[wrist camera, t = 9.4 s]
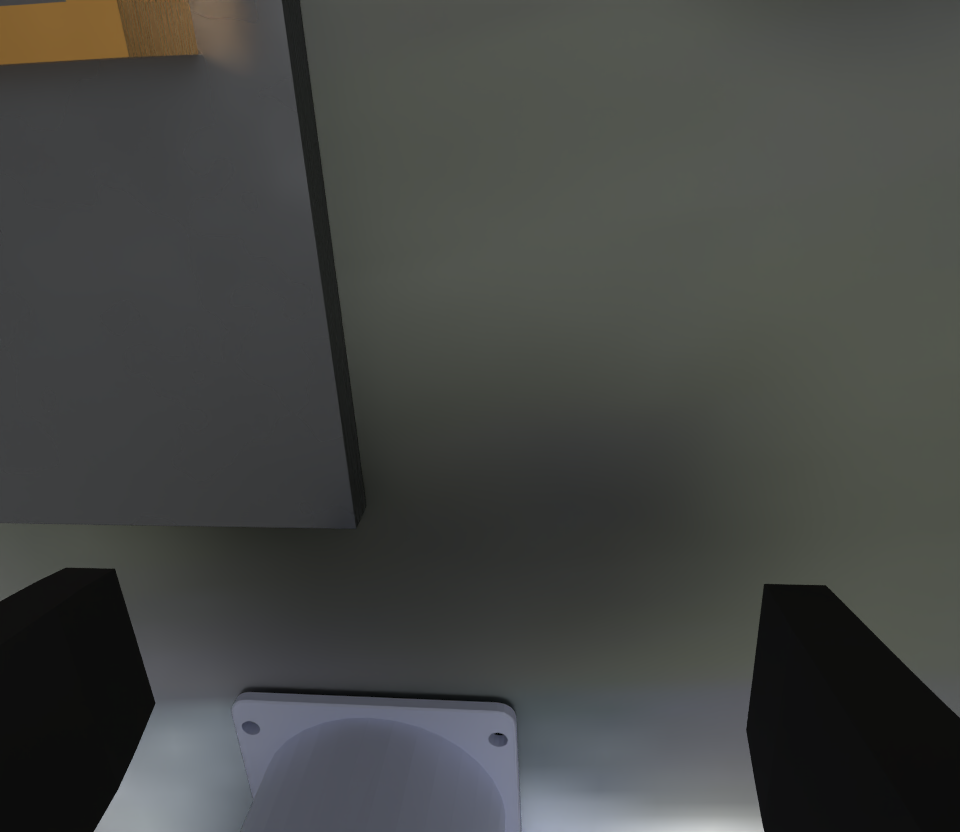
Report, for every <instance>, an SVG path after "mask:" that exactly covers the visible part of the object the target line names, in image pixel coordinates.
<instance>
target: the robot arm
mask: <svg viewBox="0 0 960 832" xmlns="http://www.w3.org/2000/svg"><path fill="white" fill-rule="evenodd" d="M154 706H155V700H154V697H153V694H152V690H151V687H150V684H149V680H148V677H147V674H146V670H145V667H144V664H143V660H142V657H141V654H140V651H139V647H138V644H137V641H136V637H135V634H134V631H133V627H132V624H131V621H130V617H129V614H128V611H127V607H126V604H125V601H124V597H123V594H122V591H121V588H120V584H119V581H118V578H117V574H116V571H115V569H97V568H64V569H62V570H60V571H58V572H56V573H54V574H52V575H50V576H47V577H45V578H43V579H41V580H39V581H37V582H35V583H33V584H32V585H30V586H28V587H26V588H24V589H22V590H20V591H18V592H17V593H15V594H13V595H11V596H9V597H8V598H6V599H4V600H2V601H0V832H94V830H95V828H96V827H97V825H98V823H99V822H100V820H101V818H102V816H103V815H104V813H105V811H106V810H107V808H108V806H109V804H110V802H111V801H112V799H113V797H114V795H115V794H116V792H117V790H118V788H119V786H120V784H121V782H122V780H123V777H124V775H125V773H126V771H127V769H128V767H129V764H130V762H131V760H132V758H133V756H134V753H135V751H136V749H137V747H138V744H139V742H140V739H141V737H142V735H143V732H144V730H145V727H146V725H147V722H148V720H149V718H150V715H151V713H152V710H153V708H154ZM231 713H232V717H233V721H234V725H235V729H236V733H237V737H238V741H239V745H240V749H241V753H242V757H243V761H244V765H245V769H246V773H247V777H248V781H249V785H250V789H251V793H252V797H253V802H252V805H251V807H250V809H249V812H248V814H247V816H246V819H245V821H244V824H243V826H242V828H241V831H240V832H522V828H521V806H520V783H519V760H518V738H517V717H516V714H515V711H514V710H513V709H512V708H511V707H510V706H508V705H506V704H503V703H498V702H474V701H450V700H426V699H403V698H379V697H355V696H332V695H308V694H284V693H261V692H245V693H242V694H240V695H238V697H237V698H236V700H235V702H234V704H233V706H232V708H231ZM251 721H252V722H255V723H256V724H255V723H252V722H251ZM746 731H747V737H748V743H749V749H750V755H751V761H752V767H753V773H754V779H755V785H756V790H757V796H758V801H759V807H760V812H761V818H762V823H763V828H764V831H765V832H960V718H959V717H958V716H957V715H956V714H955V713H954V712H953V711H952V710H951V709H950V708H949V707H948V706H947V705H946V704H944V703H943V702H942V701H941V700H940V699H939V698H938V697H937V696H936V695H935V694H934V693H933V692H932V691H931V690H930V689H929V688H928V687H927V686H926V685H925V684H924V683H923V682H922V681H921V680H920V679H919V678H918V677H917V676H916V675H915V674H914V673H913V672H912V671H911V670H910V669H909V668H908V667H907V666H906V665H905V664H904V663H903V662H902V661H901V660H900V659H899V658H898V657H897V656H896V655H895V654H894V653H893V652H892V651H891V650H890V649H889V648H888V647H887V646H886V645H885V644H884V643H883V642H882V641H881V640H880V639H879V638H878V637H877V636H876V635H875V634H874V633H873V632H872V631H871V630H870V629H869V628H868V627H867V626H866V625H865V624H864V623H863V622H862V621H861V620H860V619H859V618H858V617H857V616H856V615H855V614H854V613H853V612H852V611H851V610H850V609H849V608H848V607H847V606H846V605H845V604H844V603H843V602H842V601H841V600H840V599H839V598H838V597H837V596H836V595H835V594H834V593H833V592H832V591H831V590H830V589H829V588H828V587H827V586H826V585H785V584H764V590H763V598H762V606H761V614H760V622H759V631H758V639H757V647H756V655H755V663H754V671H753V680H752V688H751V696H750V704H749V712H748V720H747V729H746ZM494 733H501V734H504V735H495V734H494Z"/></svg>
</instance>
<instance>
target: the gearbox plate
mask: <svg viewBox="0 0 960 832" xmlns="http://www.w3.org/2000/svg"><path fill="white" fill-rule="evenodd" d="M365 508H366V501H365V493H364V486H363V478H362V471H361V463H360V456H359V448H358V441H357V433H356V426H355V418H354V410H353V403H352V395H351V388H350V380H349V373H348V365H347V358H346V350H345V343H344V335H343V327H342V320H341V312H340V305H339V297H338V290H337V282H336V275H335V267H334V260H333V252H332V244H331V237H330V229H329V222H328V214H327V207H326V199H325V192H324V184H323V177H322V169H321V161H320V154H319V146H318V139H317V131H316V124H315V116H314V109H313V101H312V94H311V86H310V78H309V71H308V63H307V56H306V48H305V41H304V33H303V26H302V18H301V11H300V3H299V0H0V523H30V524H93V525H155V526H217V527H279V528H341V529H356V528H357V525H358V523H359V521H360V519H361V517H362V514H363V512H364V510H365Z"/></svg>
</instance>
